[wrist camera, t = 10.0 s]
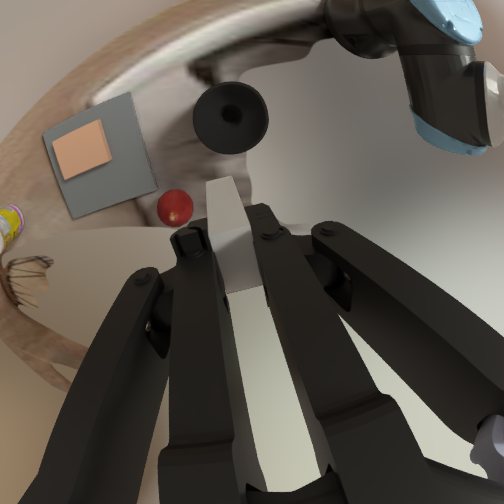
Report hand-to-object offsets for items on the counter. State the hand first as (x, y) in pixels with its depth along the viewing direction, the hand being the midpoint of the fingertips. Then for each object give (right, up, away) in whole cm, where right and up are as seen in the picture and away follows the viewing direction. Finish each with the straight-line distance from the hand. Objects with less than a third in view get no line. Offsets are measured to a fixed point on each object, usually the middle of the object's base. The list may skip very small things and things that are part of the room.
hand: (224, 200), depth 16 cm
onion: (-11, +6, +29) cm, 32 cm away
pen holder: (-3, +18, +23) cm, 30 cm away
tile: (-21, +14, +20) cm, 32 cm away
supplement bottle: (-46, +4, +24) cm, 52 cm away
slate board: (-24, +13, +23) cm, 35 cm away
